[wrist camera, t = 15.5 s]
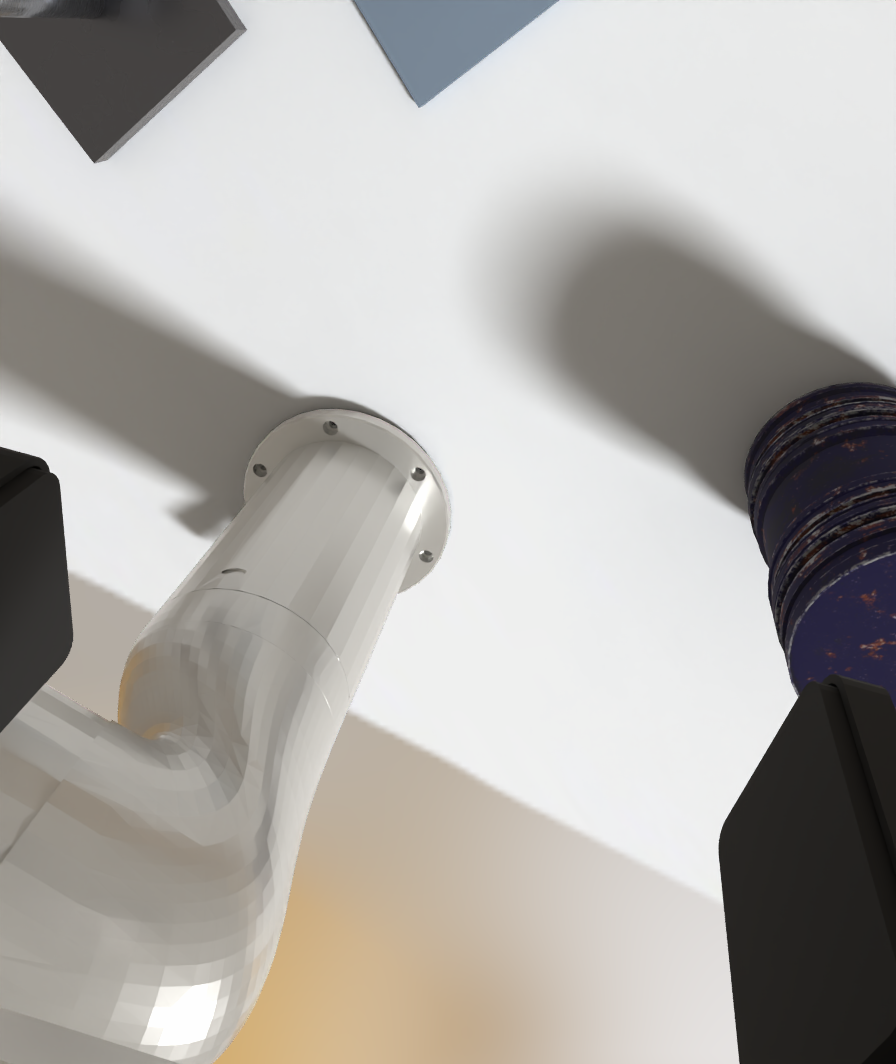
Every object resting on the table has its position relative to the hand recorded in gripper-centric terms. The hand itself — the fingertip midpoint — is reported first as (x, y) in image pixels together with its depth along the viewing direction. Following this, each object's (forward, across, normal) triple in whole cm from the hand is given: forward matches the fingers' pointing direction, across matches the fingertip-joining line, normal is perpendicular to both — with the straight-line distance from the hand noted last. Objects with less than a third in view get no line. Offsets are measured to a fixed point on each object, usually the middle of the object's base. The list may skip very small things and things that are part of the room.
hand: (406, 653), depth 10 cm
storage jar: (+34, -17, +10) cm, 39 cm away
